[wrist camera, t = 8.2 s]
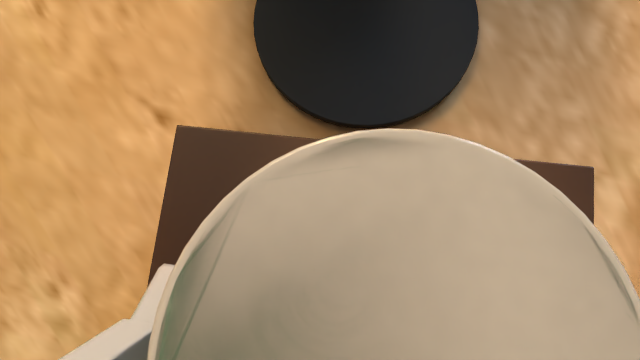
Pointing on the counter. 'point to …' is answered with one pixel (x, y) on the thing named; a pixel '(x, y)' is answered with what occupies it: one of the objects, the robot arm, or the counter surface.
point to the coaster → (365, 55)
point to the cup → (396, 262)
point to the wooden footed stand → (255, 152)
